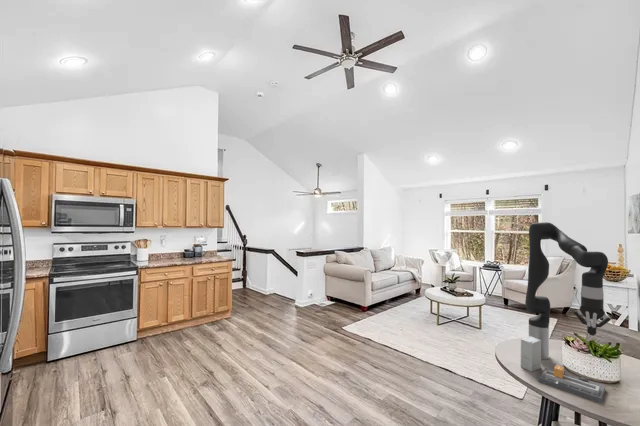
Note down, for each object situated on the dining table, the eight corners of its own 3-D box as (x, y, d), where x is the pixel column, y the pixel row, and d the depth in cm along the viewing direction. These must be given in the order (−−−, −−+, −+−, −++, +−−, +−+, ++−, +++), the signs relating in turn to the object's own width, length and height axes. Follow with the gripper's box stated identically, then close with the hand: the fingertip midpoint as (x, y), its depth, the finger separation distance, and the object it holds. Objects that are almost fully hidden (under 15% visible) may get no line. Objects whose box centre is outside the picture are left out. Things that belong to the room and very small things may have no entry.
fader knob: (556, 376, 145) (556, 364, 145) (564, 378, 143) (564, 367, 143) (554, 379, 142) (554, 367, 142) (562, 382, 140) (562, 370, 140)
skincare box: (529, 363, 162) (529, 335, 162) (541, 368, 156) (542, 339, 156) (519, 366, 158) (520, 338, 158) (532, 372, 153) (532, 342, 153)
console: (545, 371, 154) (545, 363, 154) (605, 390, 137) (605, 382, 137) (538, 381, 144) (538, 373, 144) (600, 403, 128) (600, 394, 128)
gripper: (613, 298, 133) (613, 337, 133) (574, 291, 143) (574, 328, 143) (611, 301, 128) (611, 342, 128) (571, 294, 138) (571, 332, 138)
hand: (591, 334), depth 136 cm, fingers closed
